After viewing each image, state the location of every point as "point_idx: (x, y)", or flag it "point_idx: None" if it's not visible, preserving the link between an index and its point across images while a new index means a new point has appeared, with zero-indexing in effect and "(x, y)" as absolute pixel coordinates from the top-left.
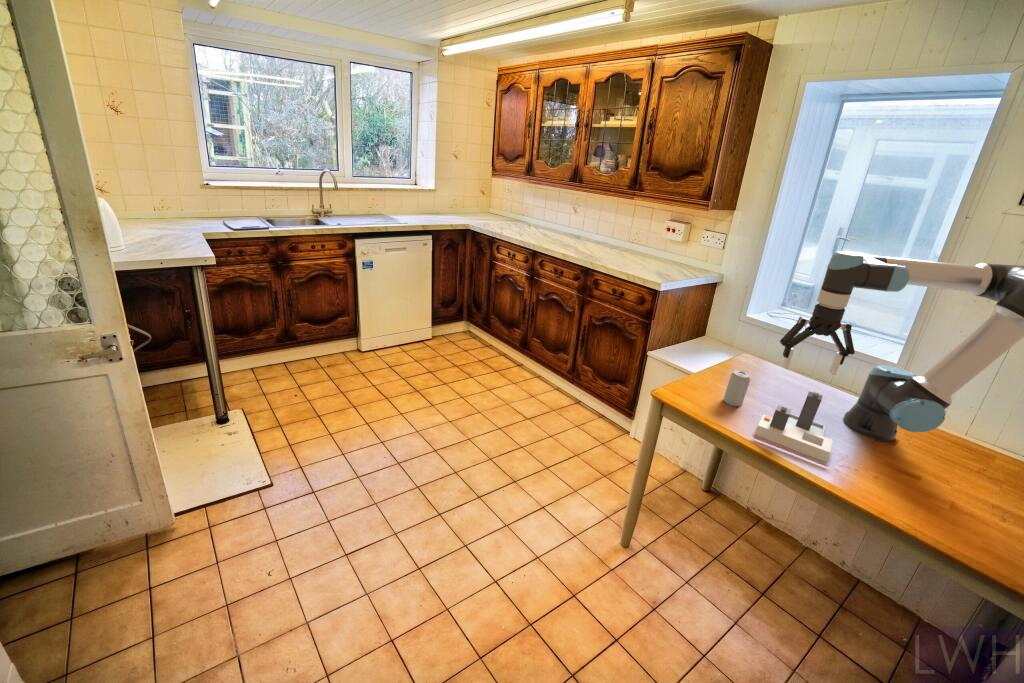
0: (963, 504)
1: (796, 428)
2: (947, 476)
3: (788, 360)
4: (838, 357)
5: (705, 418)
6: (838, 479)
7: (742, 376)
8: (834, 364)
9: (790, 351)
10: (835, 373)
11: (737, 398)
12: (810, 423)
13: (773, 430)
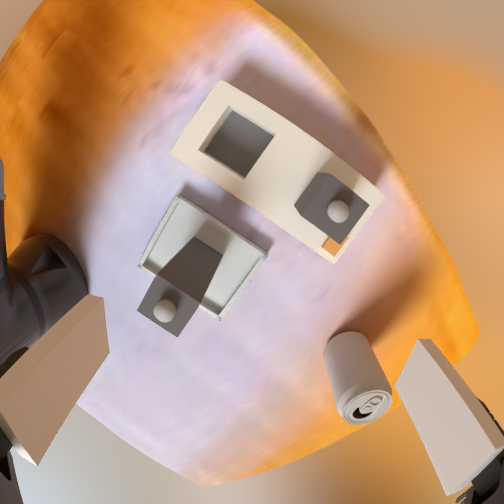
0: (33, 57)
1: (260, 196)
2: (5, 138)
3: (459, 376)
4: (20, 401)
5: (450, 257)
6: (229, 35)
7: (376, 395)
8: (69, 365)
9: (494, 431)
10: (84, 301)
11: (358, 343)
12: (190, 244)
13: (349, 171)
